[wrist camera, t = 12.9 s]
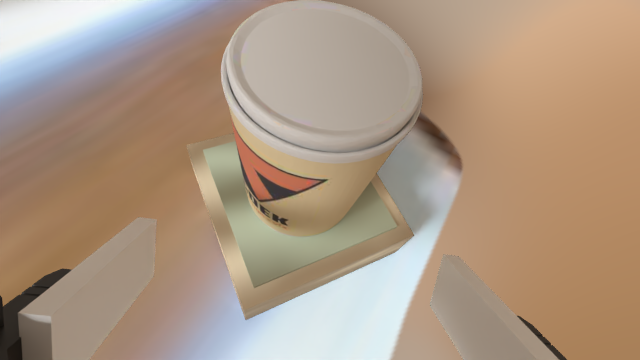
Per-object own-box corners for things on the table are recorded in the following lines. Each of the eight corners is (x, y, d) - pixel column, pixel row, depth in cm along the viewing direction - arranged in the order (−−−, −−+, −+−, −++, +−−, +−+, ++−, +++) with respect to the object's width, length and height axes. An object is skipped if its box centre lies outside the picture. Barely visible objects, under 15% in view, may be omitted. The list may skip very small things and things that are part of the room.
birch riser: (194, 172, 30) (185, 143, 26) (328, 133, 34) (336, 104, 30) (245, 320, 24) (243, 309, 21) (395, 252, 29) (415, 233, 25)
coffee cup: (212, 166, 25) (182, 20, 15) (317, 122, 29) (350, -20, 19) (276, 276, 22) (294, 185, 12) (385, 210, 26) (471, 97, 15)
